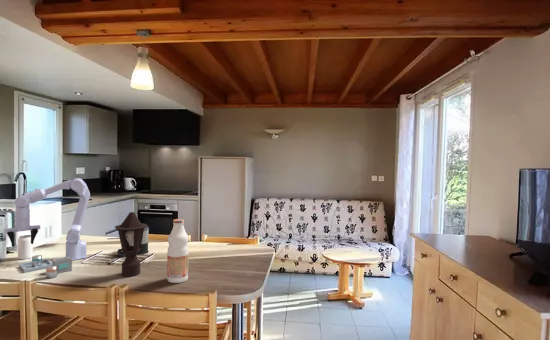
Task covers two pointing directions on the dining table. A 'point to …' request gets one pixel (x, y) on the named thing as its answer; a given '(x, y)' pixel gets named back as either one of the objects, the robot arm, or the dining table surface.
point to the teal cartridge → (36, 260)
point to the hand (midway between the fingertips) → (22, 245)
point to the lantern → (131, 243)
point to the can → (25, 247)
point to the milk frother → (143, 244)
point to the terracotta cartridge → (51, 271)
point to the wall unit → (63, 264)
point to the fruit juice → (177, 253)
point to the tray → (28, 267)
